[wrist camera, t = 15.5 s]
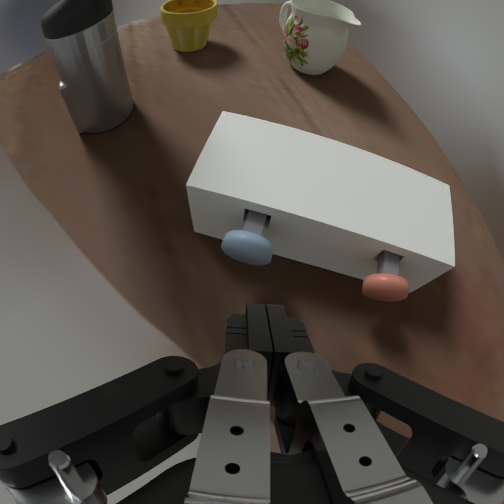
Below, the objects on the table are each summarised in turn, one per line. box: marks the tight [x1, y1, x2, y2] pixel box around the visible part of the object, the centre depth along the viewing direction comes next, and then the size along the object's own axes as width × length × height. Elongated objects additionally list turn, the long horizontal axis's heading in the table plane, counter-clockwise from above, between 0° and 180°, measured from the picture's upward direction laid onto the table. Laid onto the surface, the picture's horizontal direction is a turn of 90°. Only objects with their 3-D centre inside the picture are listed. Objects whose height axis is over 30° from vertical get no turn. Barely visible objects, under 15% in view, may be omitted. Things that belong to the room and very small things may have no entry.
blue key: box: [221, 210, 274, 265], centre depth 28 cm, size 8×4×4 cm, turn 165°
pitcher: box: [280, 0, 361, 75], centre depth 43 cm, size 11×18×14 cm, turn 32°
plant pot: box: [160, 0, 217, 52], centre depth 45 cm, size 10×10×10 cm
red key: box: [362, 250, 409, 302], centre depth 28 cm, size 8×4×4 cm, turn 165°
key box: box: [186, 111, 455, 293], centre depth 32 cm, size 10×26×9 cm, turn 75°
